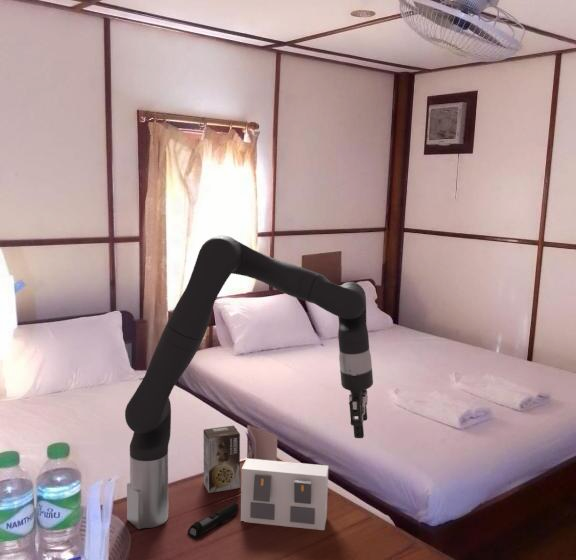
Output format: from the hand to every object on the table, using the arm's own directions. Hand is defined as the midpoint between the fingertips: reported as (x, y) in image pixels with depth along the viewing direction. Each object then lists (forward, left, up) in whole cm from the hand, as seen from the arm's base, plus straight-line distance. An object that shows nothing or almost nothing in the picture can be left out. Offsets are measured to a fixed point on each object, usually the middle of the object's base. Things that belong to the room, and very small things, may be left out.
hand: (361, 428), depth 148 cm
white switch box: (-12, +14, -25) cm, 31 cm away
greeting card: (-4, +33, -26) cm, 42 cm away
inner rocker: (-19, +14, -18) cm, 30 cm away
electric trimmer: (-27, +23, -26) cm, 44 cm away
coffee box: (-14, +38, -26) cm, 48 cm away
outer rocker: (-12, +7, -18) cm, 23 cm away
